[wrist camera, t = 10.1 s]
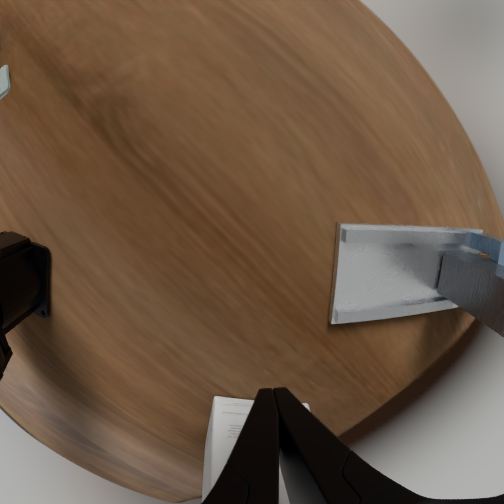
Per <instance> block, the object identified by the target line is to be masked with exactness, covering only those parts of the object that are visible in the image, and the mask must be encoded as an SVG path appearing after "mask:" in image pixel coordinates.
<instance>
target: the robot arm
mask: <svg viewBox="0 0 504 504" xmlns="http://www.w3.org/2000/svg"><path fill="white" fill-rule="evenodd" d="M43 251H44V253H45V255H44V254H43ZM49 258H50V252H49V249H48V248H47V247H45V246H42V245H39V244H37V243H34V242H31V240H30V239H29V238H28V237H25V236H22V235H20V234H17V233H15V232H6V231H4V232H1V233H0V381H1V379H2V377H3V372H4V370H5V368H6V366H7V364H8V362H9V360H10V358H11V356H12V354H13V352H12V350H11V347H9V345H8V342H7V339H6V337H5V334H7V333H8V332H9V331H10V330H12V329H13V328H14V327H15V326H16V325H18V324H19V323H20V322H21V321H23V320H24V319H25V318H26V317H28V316H29V315H30V314H32V313H35V314H37V315H39V316H41V317H43V318H47V317H48V316H49ZM44 312H45V313H44ZM279 465H280V469H281V473H282V477H283V480H284V484H285V488H286V492H287V495H288V499H289V503H290V504H504V494H502V495H499V496H496V497H490V498H480V499H457V500H456V499H450V500H449V499H431V498H426V497H423V496H420V495H418V494H416V493H414V492H412V491H410V490H408V489H407V488H405V487H403V486H402V485H400V484H398V483H396V482H395V481H393V480H391V479H390V478H388V477H387V476H385V475H383V474H382V473H380V472H379V471H377V470H376V469H374V468H373V467H372V466H370V465H369V464H368V463H366V462H365V461H364V460H363V459H361V458H360V457H359V456H358V455H357V454H356V453H354V452H353V451H352V450H351V451H350V448H349V447H348V446H347V445H345V444H344V443H343V442H342V441H341V440H340V439H339V438H338V437H337V436H336V435H335V434H333V433H332V432H331V431H330V430H329V429H328V428H327V427H326V426H325V425H324V424H323V423H322V422H321V421H320V420H319V419H318V418H316V417H315V416H314V415H313V414H312V413H311V412H310V411H309V410H308V409H307V408H306V407H305V406H304V405H303V404H302V403H301V402H300V401H299V400H298V399H297V398H296V397H295V396H294V395H293V394H292V393H291V392H290V391H289V390H288V389H287V388H286V387H279V388H274V389H273V390H272V388H262V389H259V391H258V393H257V395H256V398H255V400H254V402H253V405H252V407H251V409H250V412H249V414H248V416H247V418H246V421H245V423H244V425H243V427H242V430H241V432H240V434H239V436H238V438H237V441H236V443H235V445H234V447H233V449H232V451H231V454H230V456H229V458H228V460H227V462H226V464H225V466H224V468H223V470H222V472H221V474H220V476H219V477H218V479H217V481H216V483H215V485H214V486H213V488H212V489H211V491H210V492H209V494H208V495H207V497H206V498H205V499H204V501H203V502H202V503H201V504H279Z"/></svg>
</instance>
